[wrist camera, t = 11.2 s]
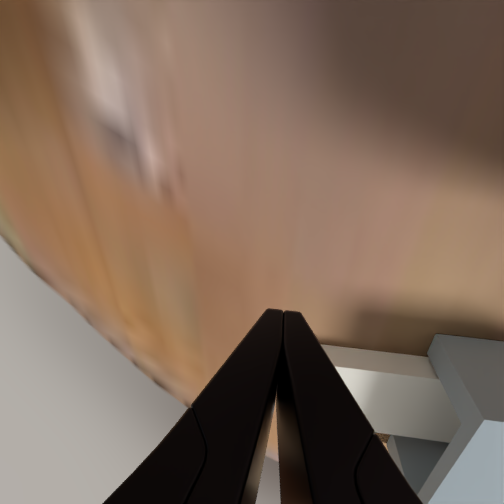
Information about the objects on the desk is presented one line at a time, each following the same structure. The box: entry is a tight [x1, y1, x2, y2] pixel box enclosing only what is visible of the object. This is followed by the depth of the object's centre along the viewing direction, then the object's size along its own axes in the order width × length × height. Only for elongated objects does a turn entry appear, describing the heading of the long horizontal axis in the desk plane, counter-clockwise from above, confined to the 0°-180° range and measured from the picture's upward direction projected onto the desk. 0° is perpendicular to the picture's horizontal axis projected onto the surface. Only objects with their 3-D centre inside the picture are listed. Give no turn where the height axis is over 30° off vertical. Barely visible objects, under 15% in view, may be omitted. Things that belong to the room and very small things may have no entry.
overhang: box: [387, 334, 504, 504], centre depth 22 cm, size 8×14×6 cm, turn 177°
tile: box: [321, 344, 461, 443], centre depth 24 cm, size 14×7×2 cm, turn 88°
